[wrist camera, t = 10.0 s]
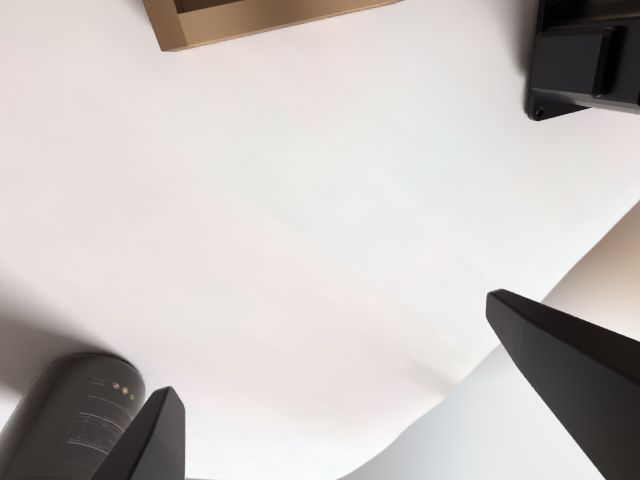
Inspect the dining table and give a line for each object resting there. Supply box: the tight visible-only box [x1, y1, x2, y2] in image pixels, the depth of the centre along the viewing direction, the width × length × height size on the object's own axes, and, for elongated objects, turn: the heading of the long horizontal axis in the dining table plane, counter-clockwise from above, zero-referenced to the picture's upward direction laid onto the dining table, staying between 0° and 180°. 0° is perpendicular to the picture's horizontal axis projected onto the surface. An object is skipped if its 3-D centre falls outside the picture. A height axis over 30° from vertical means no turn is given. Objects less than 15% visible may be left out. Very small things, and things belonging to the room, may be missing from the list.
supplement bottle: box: [0, 354, 146, 480], centre depth 19 cm, size 7×7×12 cm
